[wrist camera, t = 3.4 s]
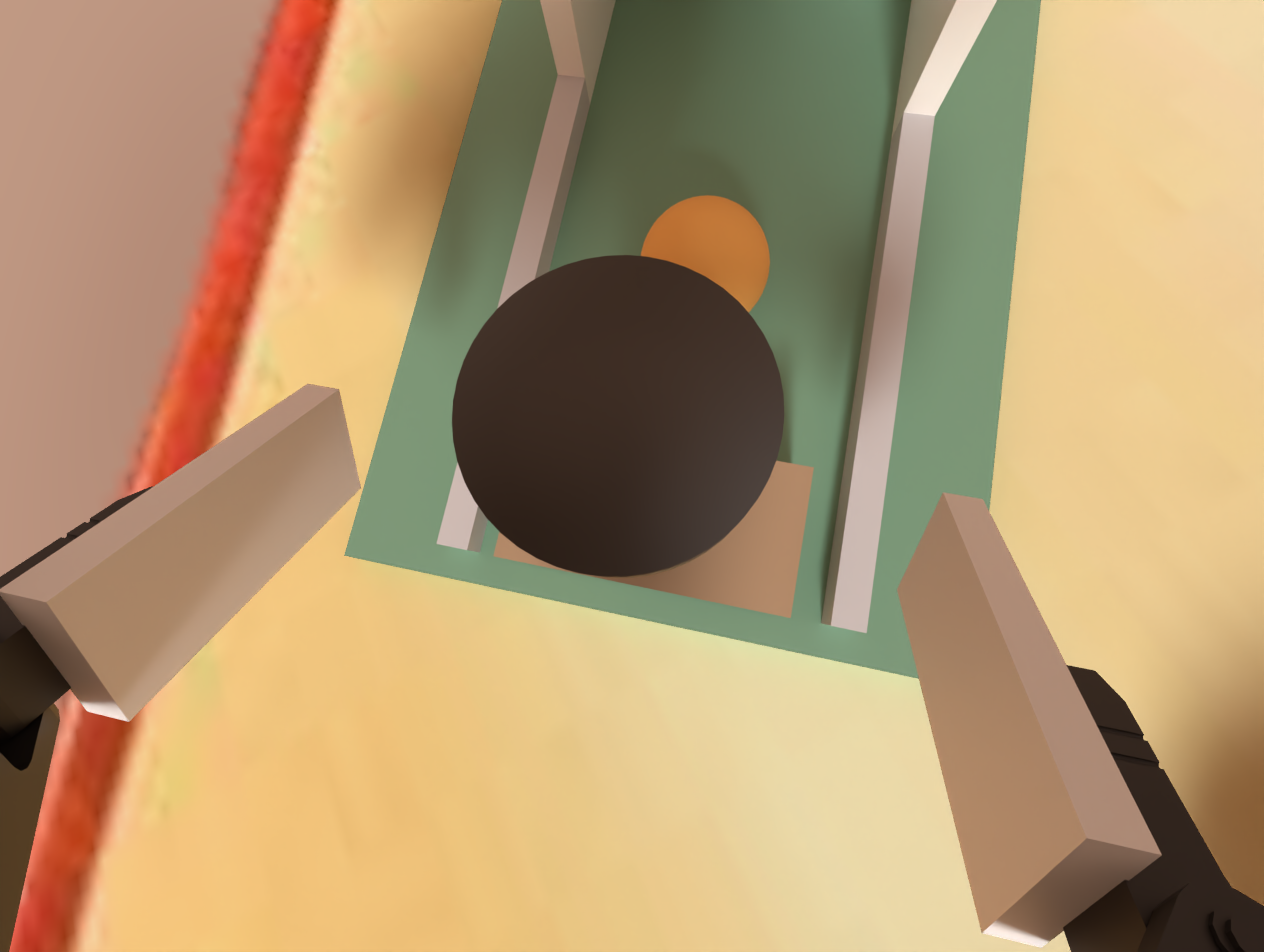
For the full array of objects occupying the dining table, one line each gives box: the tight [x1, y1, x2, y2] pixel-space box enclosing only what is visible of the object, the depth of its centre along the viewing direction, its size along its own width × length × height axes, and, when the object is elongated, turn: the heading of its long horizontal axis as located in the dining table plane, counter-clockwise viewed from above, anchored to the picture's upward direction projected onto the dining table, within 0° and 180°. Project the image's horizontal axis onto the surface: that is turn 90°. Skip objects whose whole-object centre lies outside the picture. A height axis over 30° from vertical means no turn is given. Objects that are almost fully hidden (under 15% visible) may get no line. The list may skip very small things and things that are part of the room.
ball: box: [641, 195, 770, 313], centre depth 18 cm, size 4×4×4 cm
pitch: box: [344, 0, 1041, 679], centre depth 21 cm, size 20×26×2 cm
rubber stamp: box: [452, 255, 814, 618], centre depth 13 cm, size 8×4×12 cm, turn 79°
